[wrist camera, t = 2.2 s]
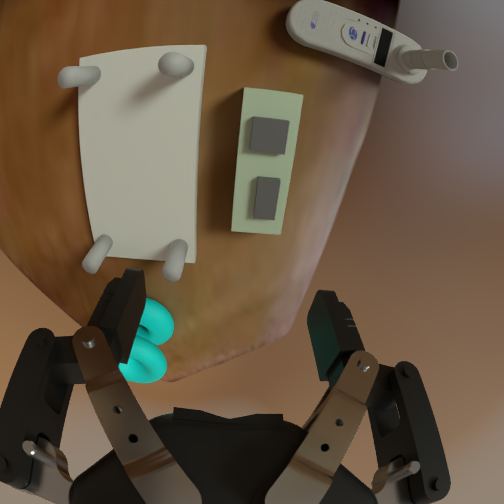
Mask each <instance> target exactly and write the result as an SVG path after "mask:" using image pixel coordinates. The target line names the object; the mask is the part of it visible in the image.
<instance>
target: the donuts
mask: <svg viewBox="0 0 504 504" xmlns="http://www.w3.org/2000/svg"><path fill="white" fill-rule="evenodd" d="M140 325H142V326H140ZM173 331H174V321H173V318H172V316H171V314H170V313H169V311H168V310H167V309H166V308H165V307H164V306H163V305H161V304H160V303H158V302H157V301H155V300H153V299H150V298H147V297H146V305H145V309H144V312H143V315H142V318H141V321H140V324H139V327H138V330H137V333H136V337H135V340H134V343H133V346H132V350H131V353H130V357H129V360H128V364H123V363H120V364H119V369H120V371H121V372H122V374H123V376H124V377H125V379H126V380H128V381H132V382H138V383H151V382H155V381H157V380H159V379H161V378H162V377H163V376H164V374H165V372H166V369H167V362H166V359H165V356H164V355H163V353H162V352H161V350H160V349H159V348H158V347H157V346H156V345H160V344H163V343H165V342H166V341H167V340H169V338H170V337H171V336H172V334H173Z"/></svg>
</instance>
